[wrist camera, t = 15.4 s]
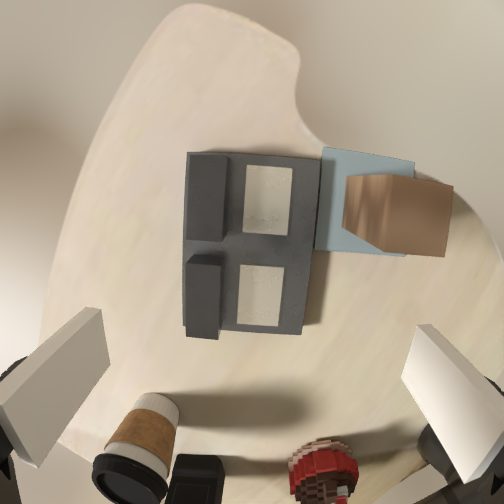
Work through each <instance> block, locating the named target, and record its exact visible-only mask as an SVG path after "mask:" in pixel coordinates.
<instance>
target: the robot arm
mask: <svg viewBox="0 0 504 504" xmlns="http://www.w3.org/2000/svg"><path fill="white" fill-rule="evenodd" d="M109 366H110V359H109V354H108V349H107V344H106V338H105V332H104V326H103V319H102V312H101V309H96V308H89V307H86V308H84V309H83V310H82V311H81V312H79V313H78V314H77V315H76V316H75V317H73V318H72V319H71V320H70V321H69V322H67V323H66V324H65V325H64V326H63V327H62V328H60V329H59V330H58V331H57V332H56V333H55V334H53V335H52V336H51V337H50V338H49V339H48V340H46V341H45V342H44V343H43V344H42V345H41V346H40V347H38V348H37V349H36V350H35V351H34V352H33V353H32V354H31V355H29V356H26V357H24V358H22V359H20V360H18V361H16V362H15V363H14V364H13V365H11V366H10V367H9V368H8V369H7V371H5V372H4V373H2V374H1V377H0V504H22V503H21V499H20V495H19V490H18V485H17V480H16V475H15V469H14V463H13V460H12V457H11V455H10V453H11V452H12V450H13V449H14V450H15V451H16V453H17V455H18V456H19V458H20V459H21V460H22V461H24V462H25V463H27V464H29V465H31V466H33V467H35V468H37V469H39V467H40V466H41V464H42V463H43V461H44V459H45V458H46V456H47V455H48V453H49V451H50V450H51V449H52V447H53V446H54V444H55V443H56V441H57V440H58V438H59V437H60V435H61V434H62V432H63V431H64V429H65V428H66V426H67V425H68V424H69V422H70V421H71V419H72V418H73V416H74V415H75V413H76V412H77V410H78V409H79V408H80V406H81V405H82V403H83V402H84V401H85V399H86V398H87V396H88V395H89V393H90V392H91V391H92V389H93V388H94V386H95V385H96V384H97V382H98V381H99V379H100V378H101V377H102V375H103V374H104V373H105V371H106V370H107V368H108V367H109ZM401 379H402V381H403V382H404V384H405V385H406V387H407V388H408V390H409V392H410V393H411V395H412V396H413V398H414V400H415V401H416V403H417V404H418V406H419V408H420V409H421V411H422V412H423V414H424V416H425V417H426V419H427V421H428V422H429V423H428V425H427V426H426V427H425V429H424V430H423V432H422V433H421V435H420V437H419V440H418V444H417V447H418V451H419V453H420V455H421V457H422V458H423V460H424V461H426V462H427V463H429V464H431V465H432V466H433V467H434V468H435V469H436V470H437V471H438V472H440V473H441V474H442V475H443V476H444V477H445V479H446V481H447V483H448V485H447V486H445V487H444V488H442V489H440V490H438V491H437V492H435V493H433V494H431V495H429V496H428V497H426V498H424V499H422V500H420V501H418V502H416V503H414V504H504V392H502V391H501V389H500V388H499V387H498V386H497V385H496V384H495V382H493V381H492V380H490V379H488V378H487V377H485V376H483V375H482V374H481V373H480V372H479V371H478V370H477V369H476V368H475V367H474V366H473V365H472V364H471V363H470V362H469V361H468V360H467V359H466V358H465V357H464V356H463V355H462V354H461V353H460V352H459V351H458V350H457V349H456V348H455V347H454V346H453V345H452V344H451V343H450V342H449V341H448V340H447V339H446V338H445V337H444V336H443V335H442V334H441V333H440V332H439V331H438V330H437V329H436V328H434V327H433V326H432V325H431V324H425V325H417V326H416V330H415V334H414V337H413V341H412V344H411V348H410V351H409V354H408V357H407V360H406V364H405V367H404V370H403V373H402V376H401Z"/></svg>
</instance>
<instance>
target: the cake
mask: <svg viewBox="0 0 504 504" xmlns="http://www.w3.org/2000/svg"><path fill="white" fill-rule="evenodd" d="M351 457H352V450H349V447H348V445H344V443H341V444H340V441H336V442H331V440H325V441H318V442H312V445H309V446H302V449H298V450H297V452H295V453H293V458H288V468H289V471H292V472H289V481H290V494H291V495H293V494H295V498H296V501H300V502H301V504H347V501H348V497H350V495H351V493H354V490H355V486H356V485H357V481H358V478H359V471H358V466H357V462H356V460H355V459H352V458H351Z"/></svg>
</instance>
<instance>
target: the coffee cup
mask: <svg viewBox="0 0 504 504" xmlns="http://www.w3.org/2000/svg"><path fill="white" fill-rule="evenodd" d="M178 419H179V410H178V408H177V406H176V405H175V404H174V403H173V402H172V401H171V400H170V399H168V398H167V397H165V396H163V395H160V394H156V393H147V394H144V395H142V396H140V398H139V399H138V400H137V402H136V403H135V405H134V406H133V408H132V409H131V411H130V412H129V413H128V415H127V416H126V417H125V419H124V420H123V422H122V423H121V424H120V426H119V427H118V429H117V430H116V431H115V433H114V434H113V436H112V437H111V439H110V440H109V441H108V443H107V444H106V446H105V448H104V452H103V453H102V454H100V455H98V456H96V458H95V460H94V462H93V472H92V481H93V483H94V485H95V486H96V487H97V489H98V490H99V491H100V492H101V493H102V494H103V495H104V496H105V497H106V498H107V499H109V500H110V501H111V502H113V503H115V504H160V502H161V500H162V499H164V498H165V496H166V493H167V492H168V484H167V483H166V479H167V478H168V476H169V472H170V466H171V460H172V453H173V447H174V441H175V435H176V429H177V424H178Z"/></svg>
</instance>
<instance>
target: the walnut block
mask: <svg viewBox="0 0 504 504" xmlns="http://www.w3.org/2000/svg"><path fill="white" fill-rule="evenodd" d="M452 198H453V186H450V185H446V184H441V183H437V182H432V181H427V180H422V179H417V178H411V177H406V176H400V175H395V174H383V175H361V176H346V185H345V197H344V208H343V218H342V228H344V229H345V230H347V231H349V232H351V233H352V234H354V235H356V236H358V237H359V238H361V239H363V240H364V241H366V242H368V243H369V244H371V245H373V246H374V247H376V248H378V249H380V250H381V251H383V252H386V253H398V254H411V255H423V256H435V257H445V251H446V245H447V239H448V232H449V225H450V217H451V208H452Z"/></svg>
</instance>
